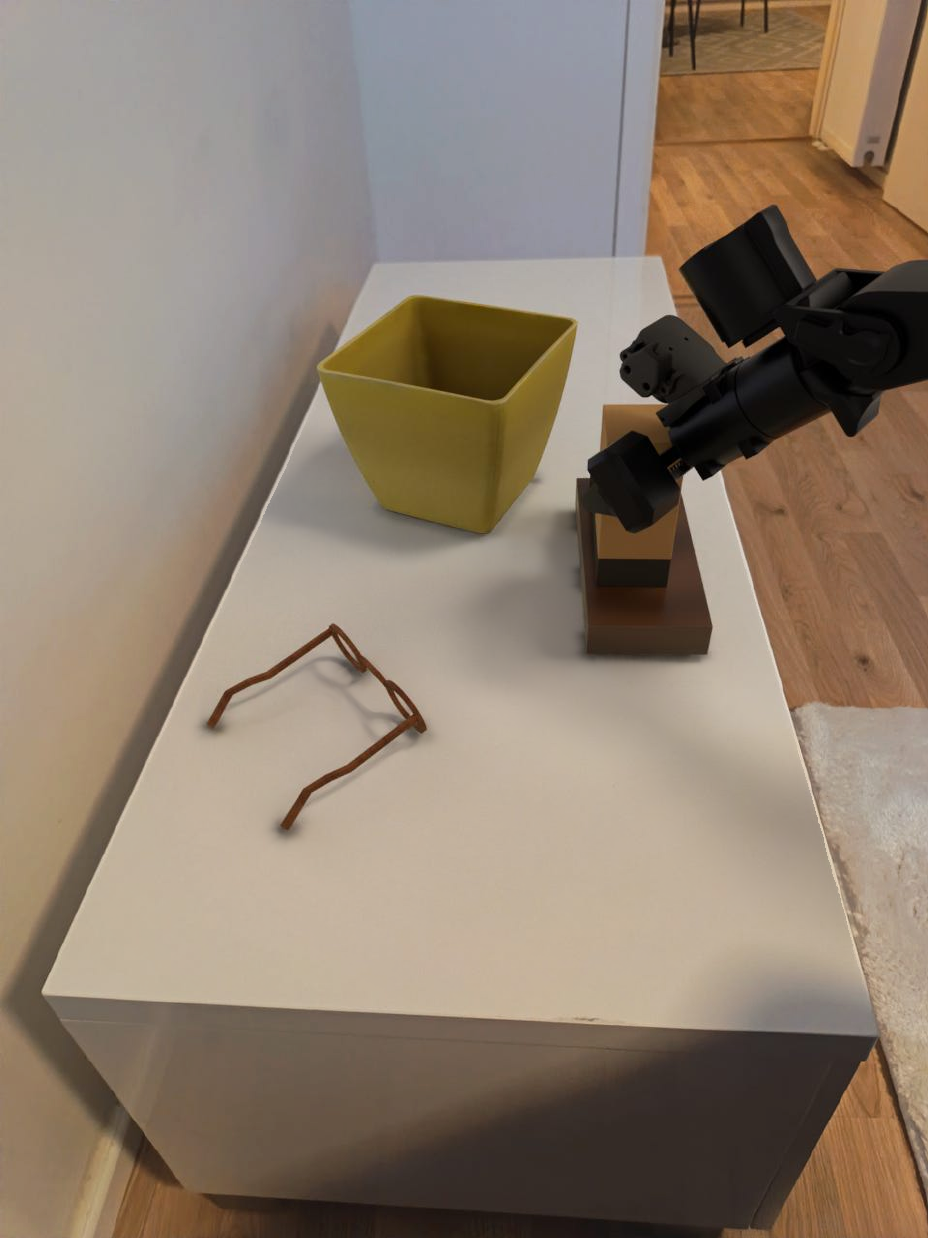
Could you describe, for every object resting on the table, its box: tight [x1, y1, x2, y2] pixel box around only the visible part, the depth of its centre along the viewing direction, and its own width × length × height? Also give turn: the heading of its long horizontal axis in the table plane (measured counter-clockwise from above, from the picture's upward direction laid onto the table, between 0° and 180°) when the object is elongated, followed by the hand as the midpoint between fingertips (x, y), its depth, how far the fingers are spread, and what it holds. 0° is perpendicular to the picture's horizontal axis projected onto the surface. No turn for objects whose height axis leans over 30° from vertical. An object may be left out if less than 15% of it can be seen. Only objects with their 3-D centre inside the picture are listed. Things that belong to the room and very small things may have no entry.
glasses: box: [206, 622, 428, 831], centre depth 67 cm, size 13×13×5 cm
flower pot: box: [316, 294, 579, 534], centre depth 88 cm, size 19×19×17 cm
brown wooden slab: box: [574, 477, 714, 656], centre depth 80 cm, size 22×10×4 cm, turn 177°
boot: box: [589, 403, 684, 587], centre depth 75 cm, size 16×6×14 cm, turn 176°
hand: (617, 480), depth 72 cm, fingers open, 9 cm apart
